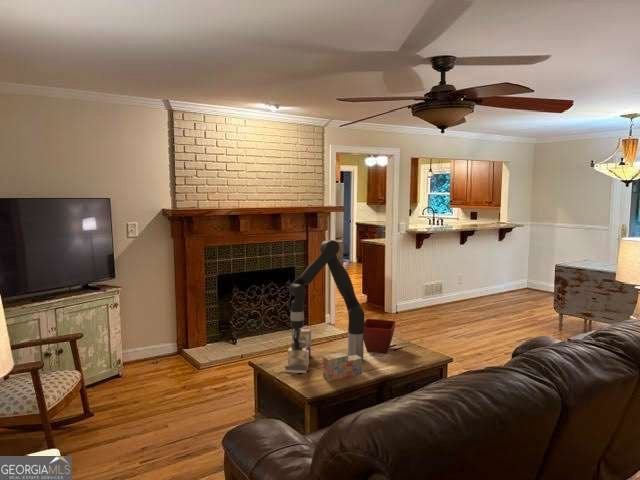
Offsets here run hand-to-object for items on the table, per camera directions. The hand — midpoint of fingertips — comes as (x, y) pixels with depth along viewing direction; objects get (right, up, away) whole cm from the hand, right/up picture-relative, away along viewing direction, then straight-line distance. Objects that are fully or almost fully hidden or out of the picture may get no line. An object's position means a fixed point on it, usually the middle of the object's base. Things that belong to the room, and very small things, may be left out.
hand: (297, 348), depth 264 cm
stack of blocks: (+26, -13, -9) cm, 30 cm away
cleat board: (0, -12, +1) cm, 12 cm away
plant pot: (+50, -8, +32) cm, 60 cm away
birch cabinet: (0, -9, +1) cm, 9 cm away
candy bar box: (+2, -10, +20) cm, 22 cm away
